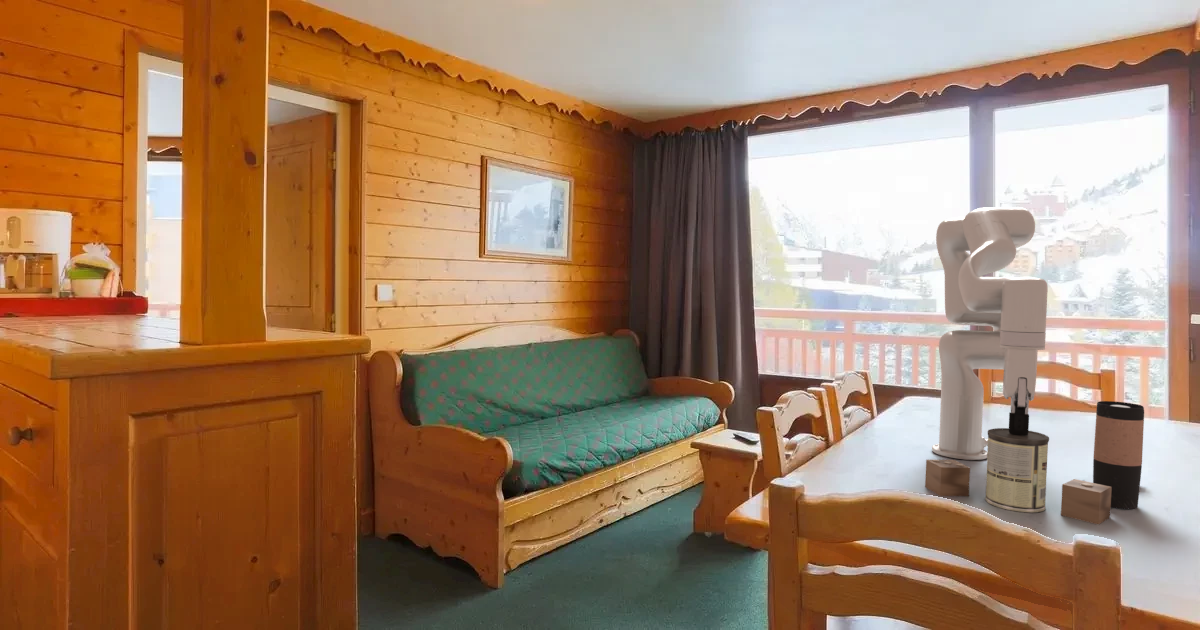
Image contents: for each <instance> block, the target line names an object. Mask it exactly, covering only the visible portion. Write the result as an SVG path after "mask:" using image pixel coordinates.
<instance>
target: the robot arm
mask: <svg viewBox="0 0 1200 630" xmlns="http://www.w3.org/2000/svg"><path fill="white" fill-rule="evenodd" d="M936 229H937V230H936V234H935V238H936V239H935V241H936V242H935V243H936V249H937V253H938V256H939V259H940V261H941V264H942V268H943V271H944V273H943V274H944V311H945V317H946V320H947V321H948V322H949V323H950V324H954V325H959V326H980V327H981V326H983V327H986V326H987V327H988V326H989V327H992V329H993V331H992V330H971V329H969V330H968V329H965V330H964V329H955V330H950V331H947V332H945V333H944V334H943V335H941V336H940V339H939V342H938V352H939V359H940V370H941V372H940V373H941V375H940V376H941V378H940V379H941V380H940V381H941V383H940V385H941V386H940V388H941V389H940V413H939V435H938V436H939V437H938V443H936V444H933V445H932V446H931V451H932V452H933V453H934V454H936V455H939V456H942V457H945V458H946V457H947V458H951V459H955V460H957V459H958V460H967V461H969V460H970V461H980V460H981V461H982V460H985V459H986V460H987V452H988V450H985V448H986V447H988V438H985V437H984V436H983V415H984V414H983V412H984V411H983V410H984V392H985V391H984V385H983V382H982V381H981V379H980V378H979V377H978V375H976V373H975V372H974V370H979V369H980V370H982V369H983V370H1003V379H1002V383H1003V384H1002V395H1003V398H1005V399H1006V400H1009V397H1010V412H1009V413H1008V414H1009V415H1008V428H1009V433H1010V434H1016V435H1028V431H1029V429H1030V428H1029V427H1030V426H1029V425H1030V414H1029V403H1030V402H1032V401H1033V400H1034V399H1035V394H1036V393H1035V392H1036V384H1037V372H1038V369H1037V368H1038V351H1044V350H1046V337H1047V336H1046V333H1047V332H1046V331H1047V311H1048V310H1047V308H1048V283H1047V281H1046V280H1045V279H1043V278H1039V277H1023V276H1022V277H1020V276H1019V277H1015V276H1014V277H1011V276H988V275H989V274H993V273H995V272H999V271H1001V270H1003V269H1005V268H1006V267H1008V266H1009V265H1011V264H1012V262H1014V260H1015V258H1016V256H1017V248H1020V247H1023V246H1024V245H1026V244H1028V243H1029V242H1030V241H1031V240H1032V239H1033V237H1034V235H1035V232H1036V222H1035V218H1034V215H1033V214H1032V213H1031V211H1030V210H1028V209H1026V208H1024V207H1019V206H1017V207H1016V206H1015V207H979V208H976V209H974V210H970V211H969V212H968V213H966V215H964V216H958V217H951V218H948V219H947V218H946V219H945V220H943V221H941V222H940V223H939V225H938V227H937V228H936ZM969 252H970V253H969Z"/></svg>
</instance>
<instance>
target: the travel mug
mask: <svg viewBox="0 0 1200 630" xmlns="http://www.w3.org/2000/svg"><path fill="white" fill-rule="evenodd" d="M1144 424H1145V407H1144V405H1141V404H1138V403H1137V404H1136V403H1131V402H1125V401H1124V402H1123V401H1115V400H1114V401H1112V400H1101V401H1097V402H1096V415H1095V429H1094V445H1093V462H1092V464H1093V466H1092V483H1096V484H1100V485H1105V486H1110V487H1112V490H1111V509H1117V510H1124V511H1128V510H1131V511H1132V510H1136V509H1138V507H1139V506H1138V505H1139V497H1140V489H1141V485H1140V484H1141V479H1142V477H1141V476H1142V465H1143V449H1144V448H1143V446H1144V430H1145V429H1144Z"/></svg>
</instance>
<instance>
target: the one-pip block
mask: <svg viewBox="0 0 1200 630" xmlns="http://www.w3.org/2000/svg"><path fill="white" fill-rule="evenodd" d="M1111 490H1112V487H1110V486H1105V485H1100V484H1096V483H1093V482H1090V481H1085V480H1080V479H1077V478H1074V479H1071V480H1069V481H1066V482H1065V483H1063V484H1062V485H1061V500H1060V501H1061V503H1060V504H1061V506H1060V516H1064V517H1067V518H1069V519H1076V520H1078V521H1083V522H1087V523H1091V524H1095V525H1098V526H1099V525H1100V524H1102V523H1104V522H1106V521H1107V520H1109V519H1111V509H1112V508H1111Z"/></svg>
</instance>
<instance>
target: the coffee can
mask: <svg viewBox="0 0 1200 630" xmlns="http://www.w3.org/2000/svg"><path fill="white" fill-rule="evenodd" d="M987 439H988V446H987V458H986V479H985V480H986V484H985V498H984V500H985V501H986V503H988V504H989V505H991V506H994V507H996V508H999V509H1003V510H1007V511H1012V512H1019V513H1041V512H1043V511H1046V496H1047V491H1046V490H1047V476H1048V475H1047V473H1048V472H1047V471H1048V470H1047V469H1048V455H1049V454H1048V452H1049V450H1048V449H1049V442H1050V437H1049V436H1048V435H1046V434H1044V433H1041V432H1038V431H1034V430H1028V435H1016V434H1010V433H1009V427H1007V428H1005V427H997V428H991V429H988V430H987Z"/></svg>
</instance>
